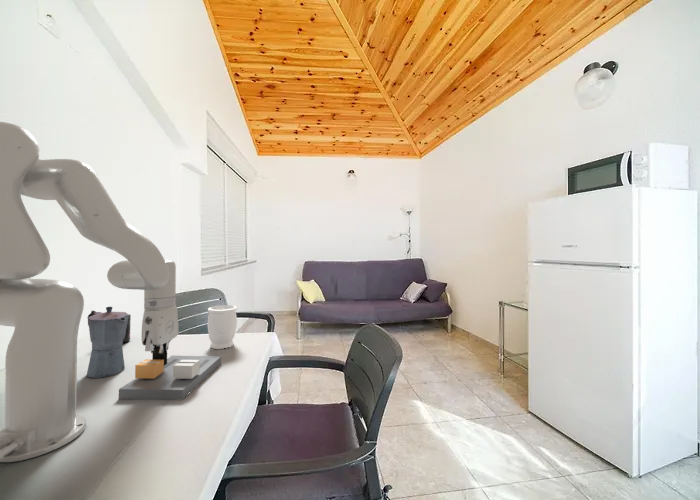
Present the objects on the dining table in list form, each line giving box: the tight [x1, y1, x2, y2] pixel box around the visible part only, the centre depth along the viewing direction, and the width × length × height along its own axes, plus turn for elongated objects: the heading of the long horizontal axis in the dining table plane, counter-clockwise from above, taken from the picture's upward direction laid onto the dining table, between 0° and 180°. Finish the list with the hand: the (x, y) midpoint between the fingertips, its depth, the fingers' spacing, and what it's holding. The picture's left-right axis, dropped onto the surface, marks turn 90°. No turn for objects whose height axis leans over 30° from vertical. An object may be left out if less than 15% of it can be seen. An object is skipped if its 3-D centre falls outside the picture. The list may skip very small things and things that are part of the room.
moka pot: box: [86, 306, 130, 379], centre depth 85 cm, size 10×15×20 cm, turn 78°
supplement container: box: [122, 313, 132, 345], centre depth 111 cm, size 7×7×10 cm
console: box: [118, 355, 222, 401], centre depth 82 cm, size 22×16×3 cm
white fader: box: [173, 360, 200, 379], centre depth 78 cm, size 4×5×4 cm
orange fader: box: [134, 358, 164, 379], centre depth 78 cm, size 4×5×4 cm
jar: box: [207, 304, 238, 350], centre depth 110 cm, size 11×10×15 cm
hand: (159, 365), depth 82 cm, fingers closed
